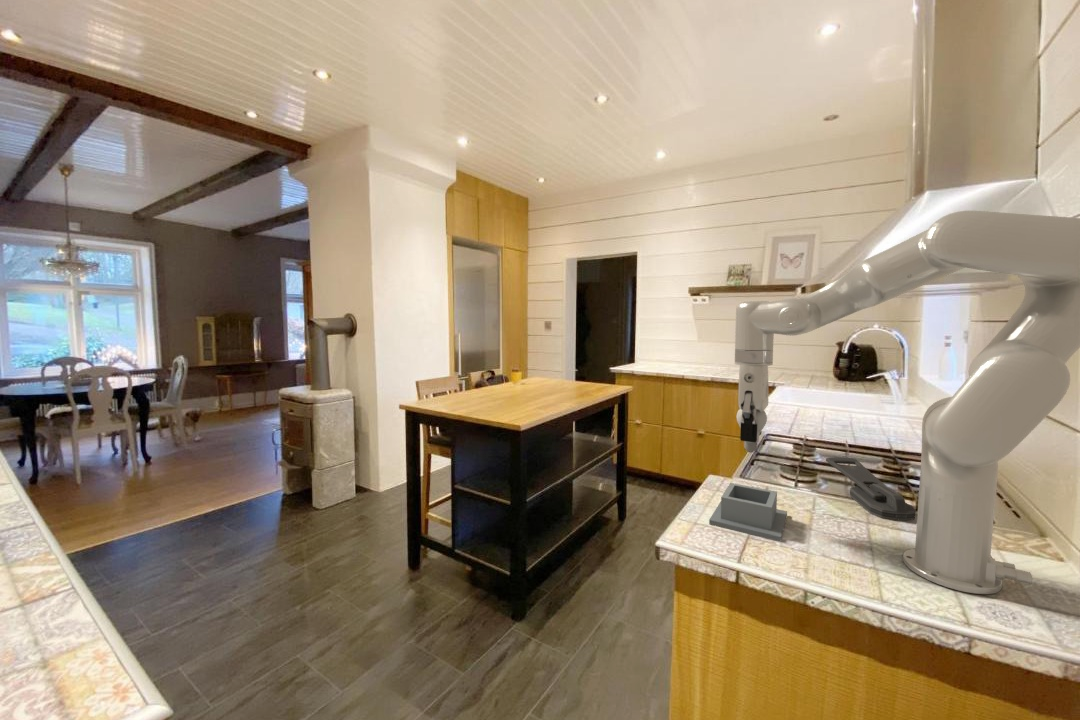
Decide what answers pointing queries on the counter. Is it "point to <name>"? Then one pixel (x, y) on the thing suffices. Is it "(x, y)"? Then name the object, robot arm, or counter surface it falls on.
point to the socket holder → (750, 512)
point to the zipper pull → (873, 492)
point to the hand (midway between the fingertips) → (751, 436)
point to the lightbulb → (760, 422)
